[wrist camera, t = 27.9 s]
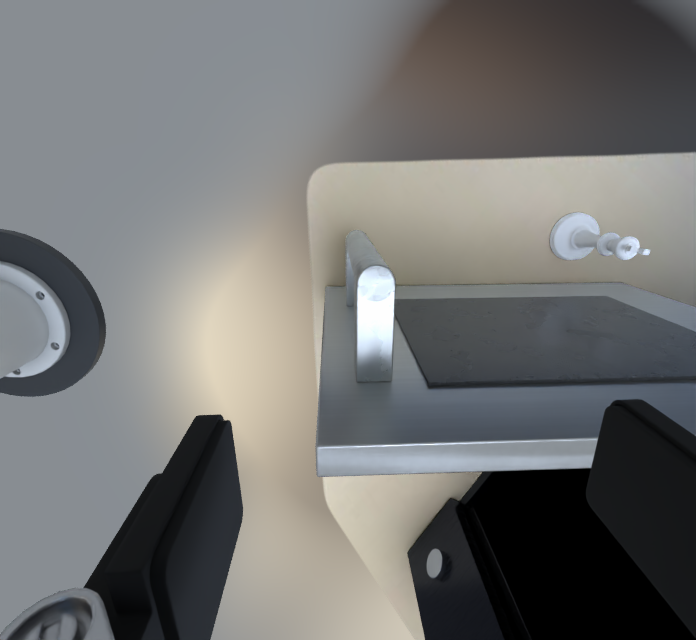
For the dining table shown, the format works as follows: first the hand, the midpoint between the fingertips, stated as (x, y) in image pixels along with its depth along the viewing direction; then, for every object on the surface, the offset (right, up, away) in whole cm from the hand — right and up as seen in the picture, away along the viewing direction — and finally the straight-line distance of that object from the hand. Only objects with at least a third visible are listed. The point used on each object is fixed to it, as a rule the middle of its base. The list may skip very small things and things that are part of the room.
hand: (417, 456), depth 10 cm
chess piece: (+22, +12, +31) cm, 40 cm away
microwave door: (+12, +10, +31) cm, 35 cm away
